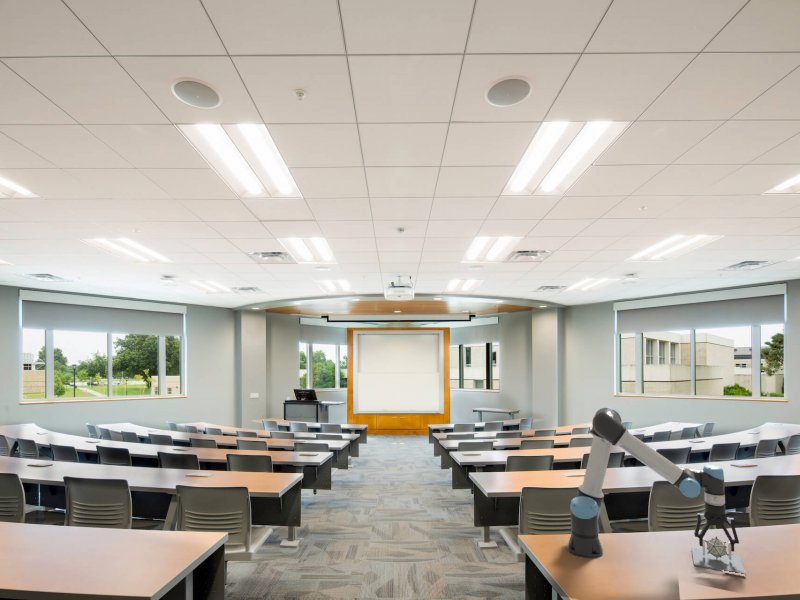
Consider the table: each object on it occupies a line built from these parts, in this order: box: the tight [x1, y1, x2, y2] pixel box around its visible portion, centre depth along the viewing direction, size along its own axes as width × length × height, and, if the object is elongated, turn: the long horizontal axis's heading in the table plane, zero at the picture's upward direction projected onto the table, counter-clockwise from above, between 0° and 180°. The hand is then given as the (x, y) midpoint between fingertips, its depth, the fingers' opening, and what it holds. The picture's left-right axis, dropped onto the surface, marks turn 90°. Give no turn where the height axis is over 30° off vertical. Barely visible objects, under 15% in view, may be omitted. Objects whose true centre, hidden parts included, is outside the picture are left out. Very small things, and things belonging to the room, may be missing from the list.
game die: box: [704, 535, 729, 559], centre depth 215 cm, size 9×8×10 cm
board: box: [691, 547, 746, 575], centre depth 215 cm, size 18×18×2 cm
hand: (716, 556), depth 215 cm, fingers closed on game die, 9 cm apart
